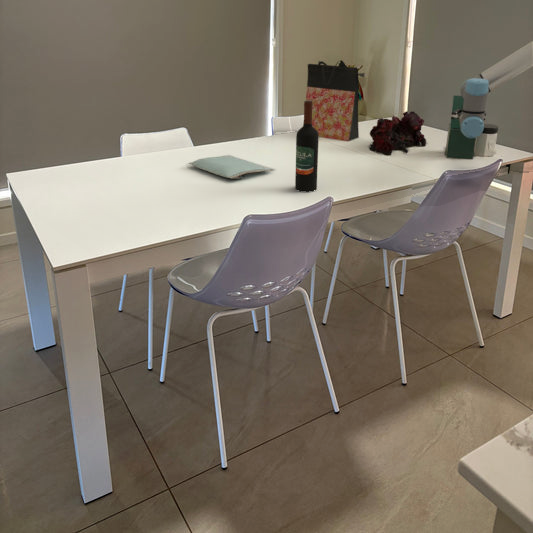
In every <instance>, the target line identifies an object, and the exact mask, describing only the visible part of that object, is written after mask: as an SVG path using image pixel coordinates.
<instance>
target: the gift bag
mask: <svg viewBox="0 0 533 533" xmlns="http://www.w3.org/2000/svg"><path fill="white" fill-rule="evenodd" d="M365 74H366V73H365V72H360V73H359V70H358V67H356V66H355V67H354V66H347V64H346V63H345V62H344V61H343V60H341V59H340V60H339V61H337V63H336V64H335V65H332V64H331V65H330V64H327V63H326V62H325V61H323V60H321V61H320V60H318V62H317V63H308V64H307V81H306V94H305V101H312V102H313V107H312V126H313V127H314V128H315V129H316V130H317V132H318V134H319V138H324V139H332V140H337V141H343V142H350V141H354V140H356V139H358V138H360V136H359V134H360V132H359V77H362V78H365ZM303 124H304V121H303V123H302V125H303Z"/></svg>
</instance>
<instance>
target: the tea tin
mask: <svg viewBox="0 0 533 533" xmlns="http://www.w3.org/2000/svg"><path fill="white" fill-rule="evenodd" d="M450 125H451V122H449V123H448V128H447V136H446V144H445V158H446V159H460V160H461V159H462V160H474V156H475V155H474V148H475V142H476V137H475V138H468V137H466V136H465V135H464V134H463V133H462V132H461V129H450Z"/></svg>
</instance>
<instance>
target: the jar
mask: <svg viewBox="0 0 533 533" xmlns="http://www.w3.org/2000/svg"><path fill="white" fill-rule="evenodd" d="M498 132H499V125H496V124H490V123H484V129H483V132H482V133H481V134H480V135H479V136H478V137H476V142H475V148H474V155H473V156H479V157H482V158H483V157H494V156H495V150H496V143H497V138H498Z"/></svg>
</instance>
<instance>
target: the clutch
mask: <svg viewBox="0 0 533 533" xmlns="http://www.w3.org/2000/svg"><path fill="white" fill-rule="evenodd" d="M188 164H189V165H191V166H194V167H196V168H198V169H200V170H203V171H205V172H209V173H212V174H214V175H217V176H220V177H224V178H227V179H244V176H243V175H246V174H252V173H259V172H268V171H269V172H270V171H273V169H272V168H268V167H265V166H262V165H260V164H258V163H255V162H252V161H248V160H246V159H241V158H239V157H235V156H231V155H220V156H211V157H203V158H199V159H196V160H194V161H192V162H188Z"/></svg>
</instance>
